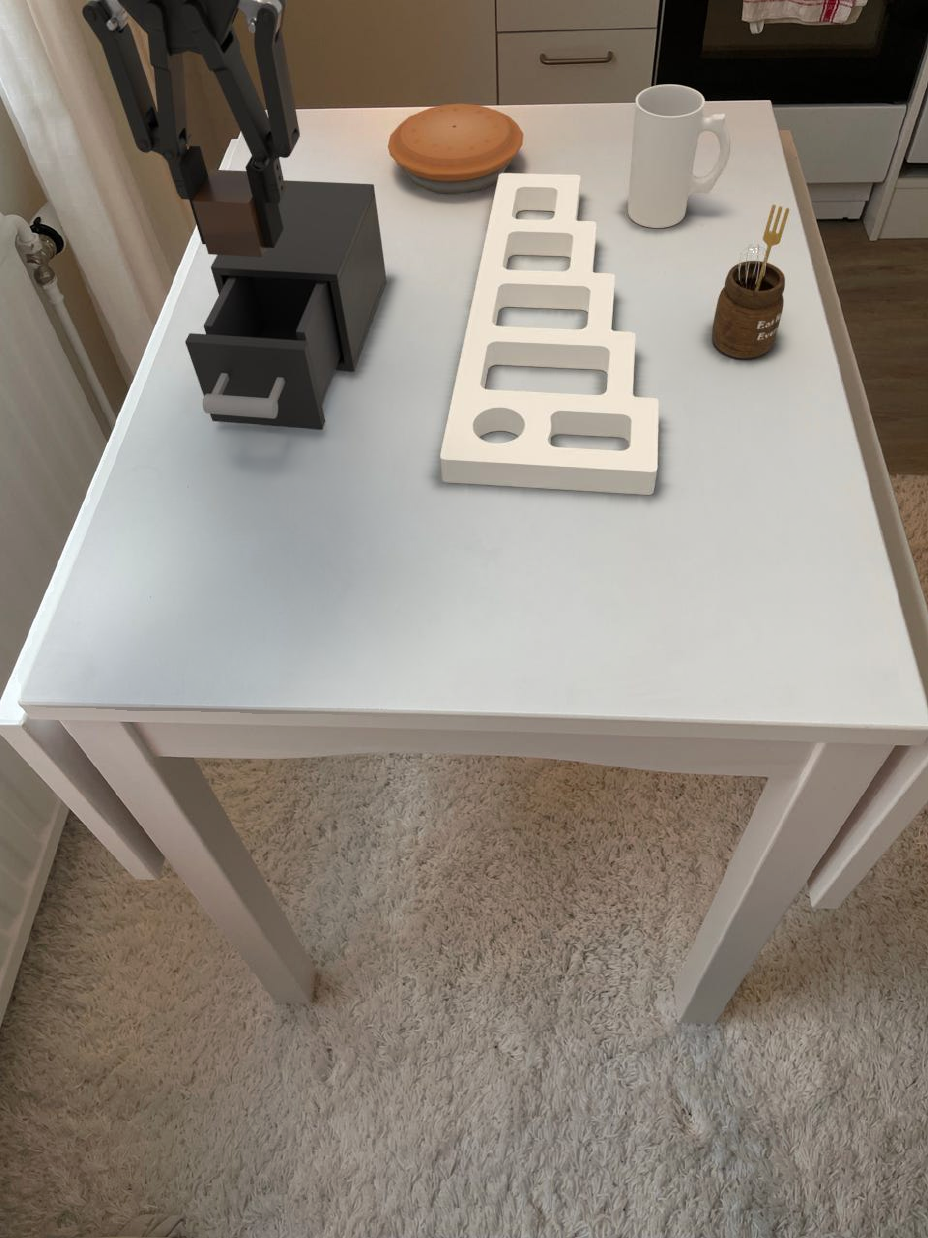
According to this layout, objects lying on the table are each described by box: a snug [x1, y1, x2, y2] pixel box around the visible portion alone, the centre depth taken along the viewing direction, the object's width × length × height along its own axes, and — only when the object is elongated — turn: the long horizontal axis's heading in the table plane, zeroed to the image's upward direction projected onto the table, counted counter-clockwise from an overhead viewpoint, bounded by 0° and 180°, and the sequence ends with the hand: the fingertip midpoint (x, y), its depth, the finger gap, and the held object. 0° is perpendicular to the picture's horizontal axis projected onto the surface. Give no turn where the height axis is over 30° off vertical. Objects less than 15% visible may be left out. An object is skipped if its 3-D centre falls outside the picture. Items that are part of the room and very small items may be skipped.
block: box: [193, 169, 267, 257], centre depth 74 cm, size 4×4×4 cm
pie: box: [387, 103, 524, 195], centre depth 110 cm, size 16×16×5 cm
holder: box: [439, 172, 660, 496], centre depth 93 cm, size 45×18×3 cm, turn 172°
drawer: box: [184, 276, 343, 431], centre depth 85 cm, size 18×10×9 cm, turn 170°
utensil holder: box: [711, 204, 790, 359], centre depth 86 cm, size 6×6×12 cm
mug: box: [627, 83, 731, 229], centre depth 99 cm, size 10×7×12 cm, turn 76°
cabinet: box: [210, 179, 387, 372], centre depth 92 cm, size 15×12×11 cm
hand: (243, 235), depth 76 cm, fingers closed on block, 4 cm apart
